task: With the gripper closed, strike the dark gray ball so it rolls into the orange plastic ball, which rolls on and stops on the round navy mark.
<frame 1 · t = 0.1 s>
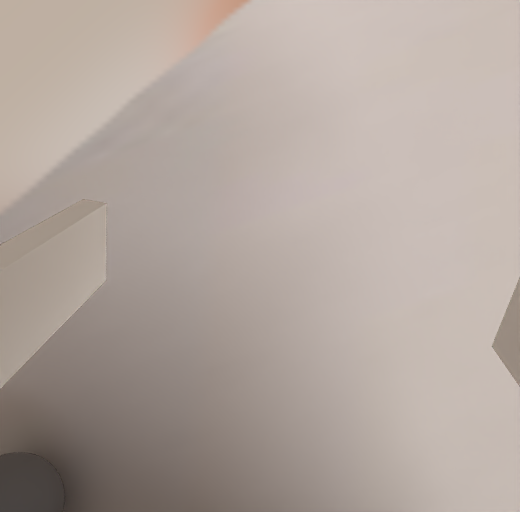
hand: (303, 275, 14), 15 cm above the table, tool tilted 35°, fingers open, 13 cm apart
dark gray ball: (8, 508, 24), on the table
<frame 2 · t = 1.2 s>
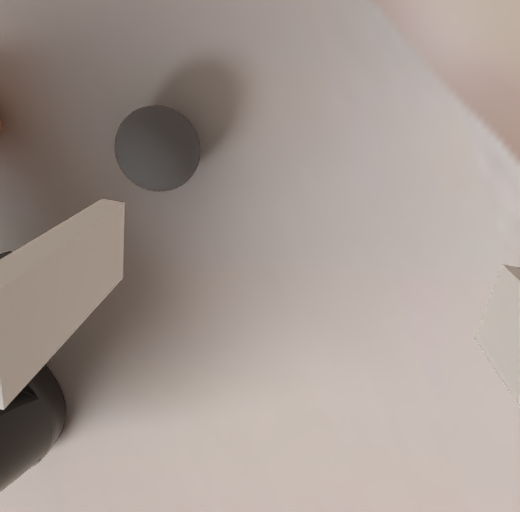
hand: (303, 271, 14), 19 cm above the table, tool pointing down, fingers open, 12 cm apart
dark gray ball: (158, 149, 29), on the table
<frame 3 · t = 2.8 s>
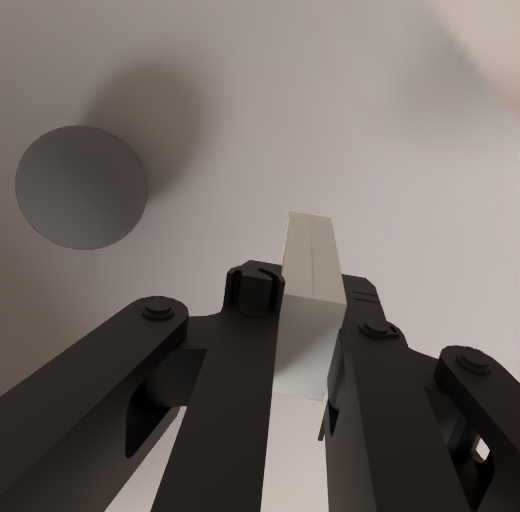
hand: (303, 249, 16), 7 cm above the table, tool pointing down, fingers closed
dark gray ball: (84, 189, 20), on the table
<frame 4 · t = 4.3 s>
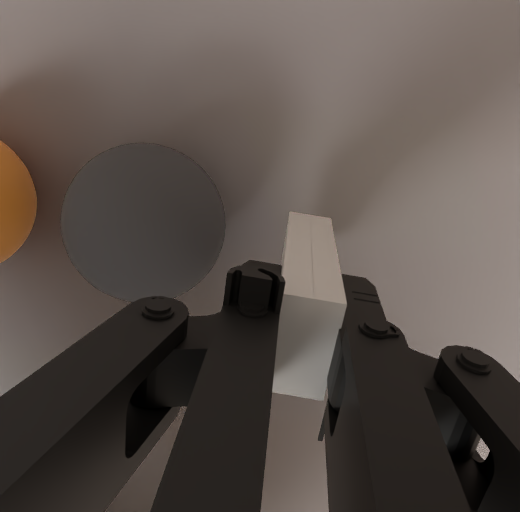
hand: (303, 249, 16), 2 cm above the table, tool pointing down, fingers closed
dark gray ball: (146, 224, 16), on the table
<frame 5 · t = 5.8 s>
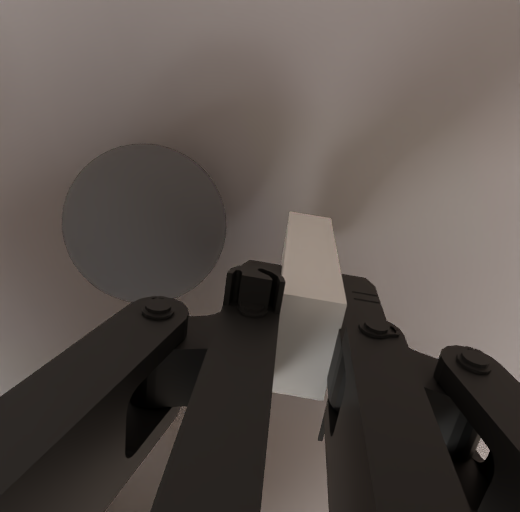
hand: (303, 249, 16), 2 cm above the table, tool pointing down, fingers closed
dark gray ball: (147, 224, 16), on the table
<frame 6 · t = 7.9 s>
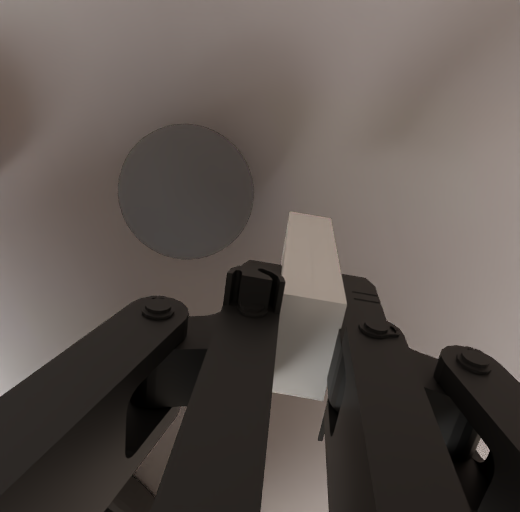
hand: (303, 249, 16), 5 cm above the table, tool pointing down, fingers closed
dark gray ball: (187, 193, 18), on the table
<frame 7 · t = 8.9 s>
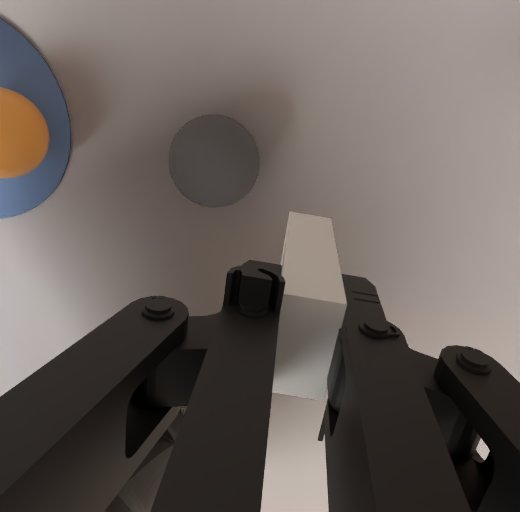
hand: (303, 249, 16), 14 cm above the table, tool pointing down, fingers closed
object ball: (0, 133, 28), on the table
dark gray ball: (214, 162, 27), on the table
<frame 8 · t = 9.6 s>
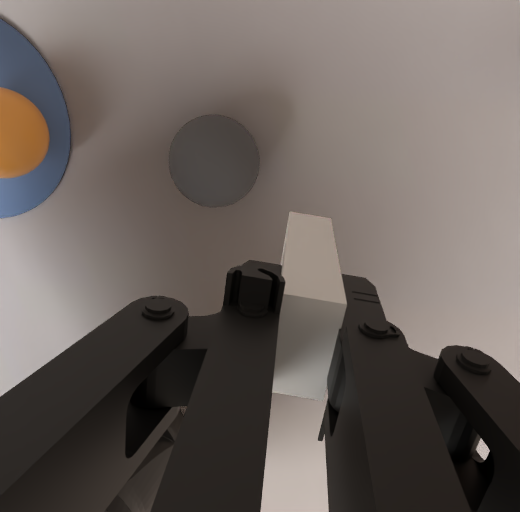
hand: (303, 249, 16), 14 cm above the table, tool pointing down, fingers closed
object ball: (0, 133, 28), on the table
dark gray ball: (214, 162, 27), on the table
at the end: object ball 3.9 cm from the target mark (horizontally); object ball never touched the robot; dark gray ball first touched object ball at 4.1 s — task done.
